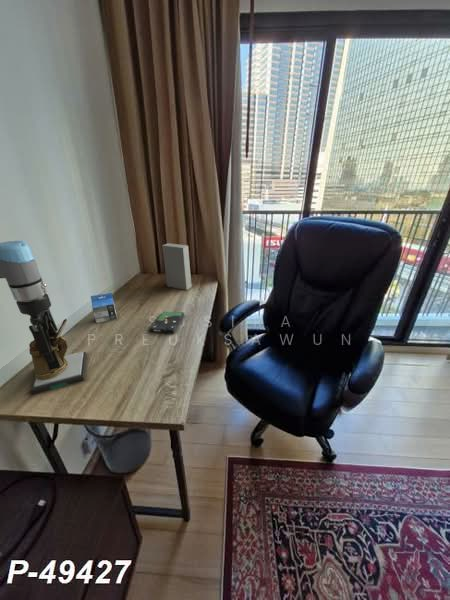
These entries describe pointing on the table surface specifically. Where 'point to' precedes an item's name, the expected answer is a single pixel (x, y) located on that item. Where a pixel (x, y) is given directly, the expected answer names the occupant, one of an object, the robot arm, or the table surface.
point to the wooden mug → (40, 362)
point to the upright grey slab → (177, 266)
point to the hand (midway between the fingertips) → (57, 360)
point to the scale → (64, 374)
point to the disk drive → (167, 322)
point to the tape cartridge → (103, 307)
